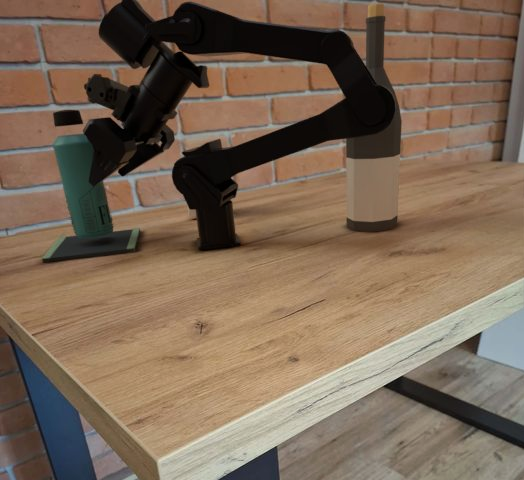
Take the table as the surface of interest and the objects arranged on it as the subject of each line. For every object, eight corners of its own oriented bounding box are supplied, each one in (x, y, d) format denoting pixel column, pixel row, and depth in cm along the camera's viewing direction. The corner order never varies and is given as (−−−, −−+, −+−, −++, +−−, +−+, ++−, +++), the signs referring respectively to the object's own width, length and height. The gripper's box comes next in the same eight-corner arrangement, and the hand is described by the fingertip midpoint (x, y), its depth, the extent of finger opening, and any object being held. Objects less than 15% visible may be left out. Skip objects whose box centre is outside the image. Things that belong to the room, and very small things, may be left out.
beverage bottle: (109, 246, 82) (79, 108, 73) (69, 248, 82) (35, 112, 73) (122, 235, 87) (95, 107, 78) (84, 238, 88) (54, 111, 79)
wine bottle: (346, 232, 80) (345, 3, 66) (346, 221, 87) (346, 12, 73) (399, 230, 78) (409, -4, 65) (395, 219, 85) (404, 5, 72)
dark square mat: (135, 251, 79) (134, 247, 79) (42, 262, 78) (41, 258, 78) (140, 231, 92) (139, 227, 92) (61, 240, 90) (60, 236, 90)
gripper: (143, 54, 79) (95, 136, 86) (78, 47, 62) (27, 149, 70) (198, 106, 80) (147, 182, 88) (149, 112, 64) (91, 205, 72)
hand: (106, 179), depth 79 cm, fingers open, 9 cm apart
